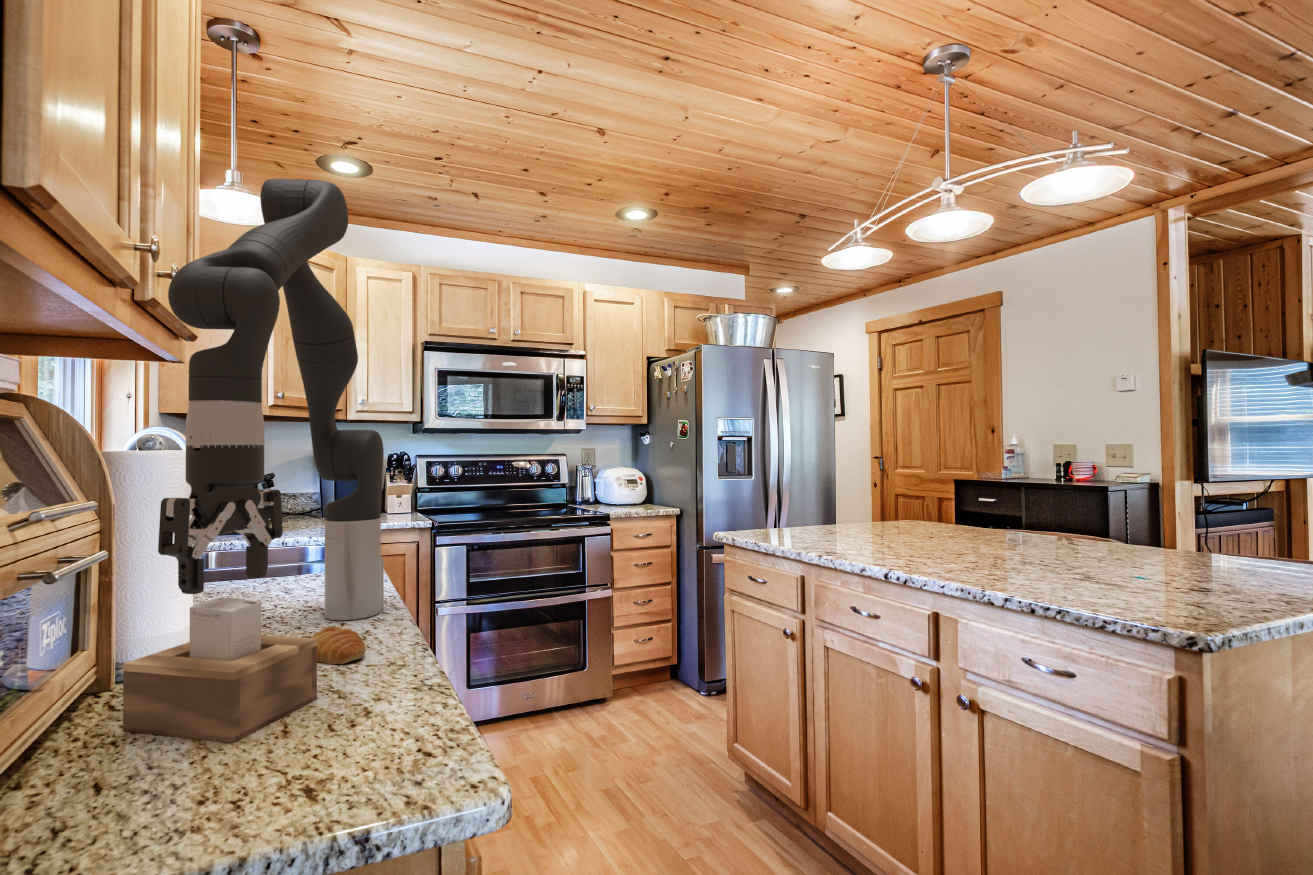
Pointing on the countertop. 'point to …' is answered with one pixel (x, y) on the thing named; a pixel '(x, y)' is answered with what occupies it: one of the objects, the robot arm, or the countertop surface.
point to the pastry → (338, 645)
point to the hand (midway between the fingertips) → (225, 584)
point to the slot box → (218, 690)
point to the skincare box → (225, 629)
